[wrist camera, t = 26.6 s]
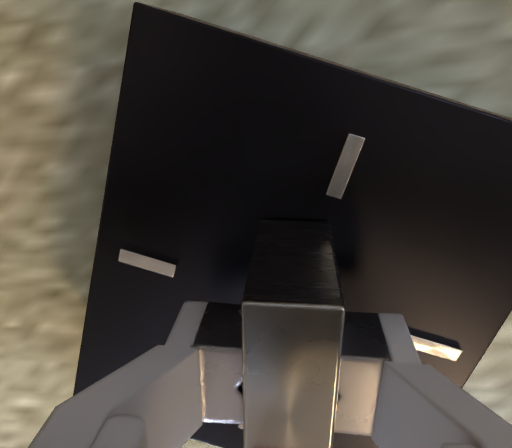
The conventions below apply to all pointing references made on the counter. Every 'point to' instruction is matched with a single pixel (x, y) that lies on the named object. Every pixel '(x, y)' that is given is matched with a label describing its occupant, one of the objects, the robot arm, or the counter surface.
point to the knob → (291, 336)
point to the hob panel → (293, 196)
